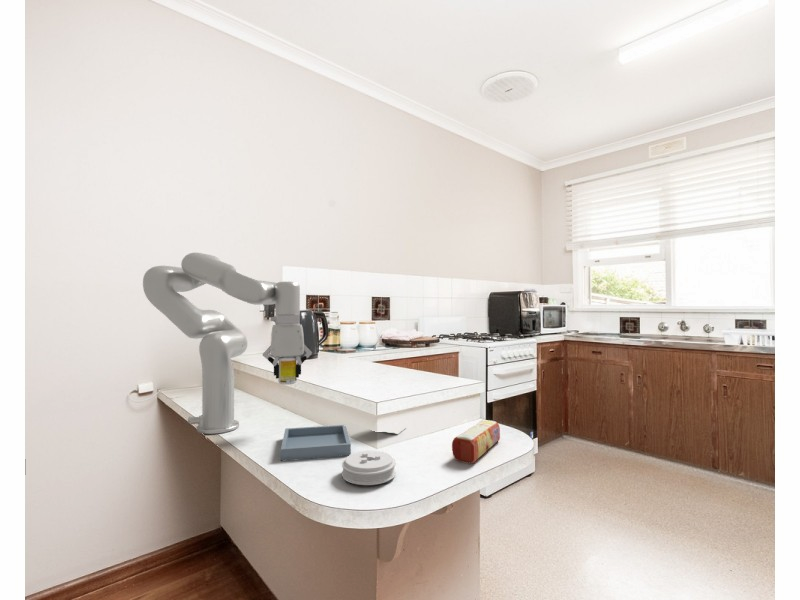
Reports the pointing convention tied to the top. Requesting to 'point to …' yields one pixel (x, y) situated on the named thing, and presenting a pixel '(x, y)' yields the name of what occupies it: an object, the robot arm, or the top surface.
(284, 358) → the supplement bottle
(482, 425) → the snack package
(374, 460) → the lid
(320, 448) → the tray
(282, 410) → the top surface
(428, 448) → the top surface
